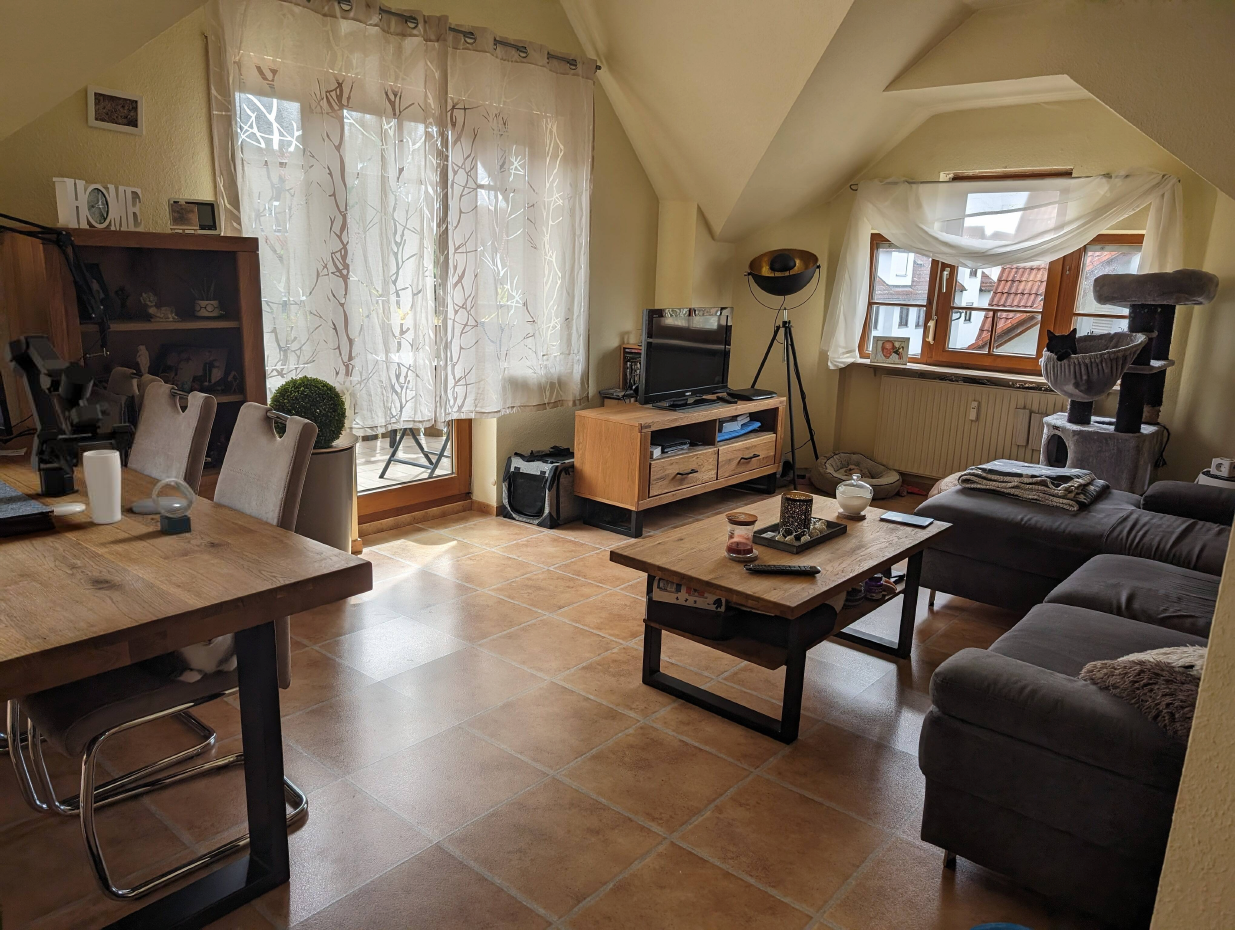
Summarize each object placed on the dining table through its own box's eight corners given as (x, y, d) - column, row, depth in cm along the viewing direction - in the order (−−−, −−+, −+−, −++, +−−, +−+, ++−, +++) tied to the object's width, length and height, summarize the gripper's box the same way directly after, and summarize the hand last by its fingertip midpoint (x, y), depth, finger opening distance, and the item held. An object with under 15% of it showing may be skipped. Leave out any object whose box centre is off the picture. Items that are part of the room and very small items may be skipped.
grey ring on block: (201, 530, 181) (197, 479, 179) (159, 536, 176) (155, 484, 174) (192, 524, 185) (188, 474, 183) (151, 530, 180) (147, 479, 178)
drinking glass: (132, 518, 188) (126, 450, 185) (111, 526, 182) (105, 456, 179) (103, 516, 189) (96, 449, 186) (81, 524, 182) (74, 454, 179)
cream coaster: (33, 513, 189) (33, 510, 189) (64, 504, 197) (64, 501, 197) (64, 516, 188) (64, 513, 188) (94, 508, 195) (93, 504, 195)
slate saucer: (120, 511, 193) (120, 506, 193) (156, 500, 204) (156, 495, 203) (162, 515, 191) (162, 510, 191) (197, 504, 201) (197, 499, 201)
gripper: (30, 393, 179) (52, 453, 174) (128, 387, 192) (151, 443, 187) (23, 426, 185) (45, 485, 180) (118, 418, 199) (141, 473, 194)
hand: (97, 470), depth 185 cm, fingers open, 9 cm apart
